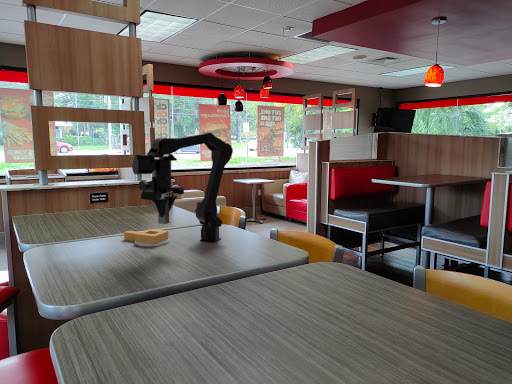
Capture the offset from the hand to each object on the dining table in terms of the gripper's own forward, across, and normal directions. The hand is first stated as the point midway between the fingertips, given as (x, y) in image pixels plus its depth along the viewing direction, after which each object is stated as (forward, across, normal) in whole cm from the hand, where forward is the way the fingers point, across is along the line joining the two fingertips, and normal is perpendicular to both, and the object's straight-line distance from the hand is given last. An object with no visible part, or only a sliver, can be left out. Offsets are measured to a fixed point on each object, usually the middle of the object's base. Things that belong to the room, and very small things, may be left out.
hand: (163, 216), depth 135 cm
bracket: (+12, -5, -12) cm, 18 cm away
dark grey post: (+2, 0, 0) cm, 2 cm away
